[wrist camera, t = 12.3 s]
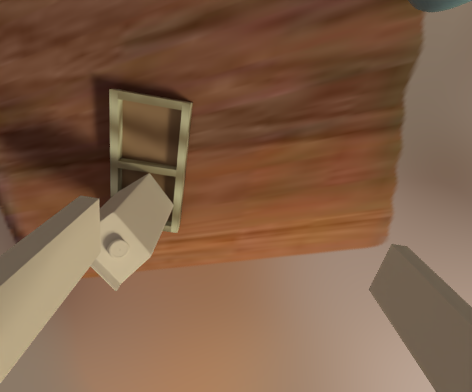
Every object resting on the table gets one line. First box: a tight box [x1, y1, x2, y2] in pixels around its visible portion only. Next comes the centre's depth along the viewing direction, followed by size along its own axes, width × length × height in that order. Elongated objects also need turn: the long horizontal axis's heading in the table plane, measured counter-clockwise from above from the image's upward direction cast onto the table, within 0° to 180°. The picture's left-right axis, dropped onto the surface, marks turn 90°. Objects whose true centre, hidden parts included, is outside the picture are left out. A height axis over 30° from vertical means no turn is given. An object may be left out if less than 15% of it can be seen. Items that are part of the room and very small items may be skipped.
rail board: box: [109, 89, 193, 233], centre depth 45 cm, size 23×12×3 cm, turn 170°
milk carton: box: [91, 173, 174, 291], centre depth 37 cm, size 7×7×19 cm
